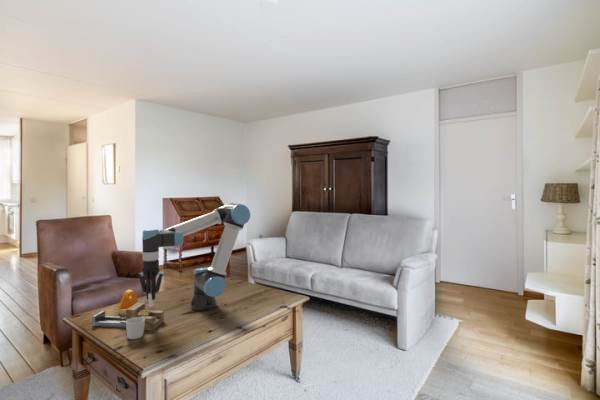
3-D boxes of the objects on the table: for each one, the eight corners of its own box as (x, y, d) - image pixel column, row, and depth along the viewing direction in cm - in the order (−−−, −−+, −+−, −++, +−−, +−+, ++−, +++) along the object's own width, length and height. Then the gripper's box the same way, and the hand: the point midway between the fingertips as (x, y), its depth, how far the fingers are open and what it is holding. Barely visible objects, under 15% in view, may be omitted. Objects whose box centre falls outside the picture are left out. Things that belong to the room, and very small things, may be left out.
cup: (132, 331, 157) (132, 314, 157) (149, 331, 158) (149, 314, 158) (122, 341, 146) (122, 323, 146) (140, 341, 147) (140, 323, 147)
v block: (135, 321, 169) (135, 311, 169) (126, 327, 161) (126, 317, 161) (102, 320, 169) (103, 310, 169) (92, 326, 161) (92, 316, 161)
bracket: (123, 316, 176) (124, 294, 176) (118, 313, 180) (118, 291, 180) (143, 311, 184) (143, 290, 184) (137, 308, 189) (138, 287, 188)
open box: (163, 321, 170) (164, 303, 170) (153, 329, 159) (154, 310, 159) (137, 320, 170) (137, 302, 170) (125, 328, 159) (126, 309, 159)
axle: (150, 318, 167) (151, 309, 167) (146, 320, 162) (147, 310, 163) (123, 317, 167) (124, 308, 168) (119, 319, 163) (119, 310, 164)
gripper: (166, 258, 168) (167, 303, 168) (142, 258, 168) (142, 302, 169) (160, 261, 160) (160, 308, 161) (134, 261, 161) (134, 308, 161)
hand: (151, 305), depth 165 cm, fingers closed
